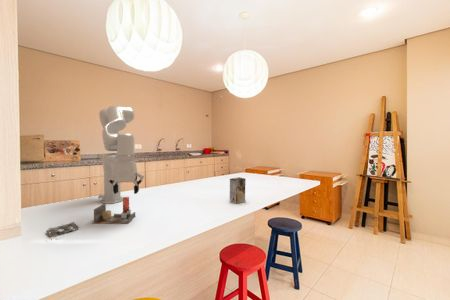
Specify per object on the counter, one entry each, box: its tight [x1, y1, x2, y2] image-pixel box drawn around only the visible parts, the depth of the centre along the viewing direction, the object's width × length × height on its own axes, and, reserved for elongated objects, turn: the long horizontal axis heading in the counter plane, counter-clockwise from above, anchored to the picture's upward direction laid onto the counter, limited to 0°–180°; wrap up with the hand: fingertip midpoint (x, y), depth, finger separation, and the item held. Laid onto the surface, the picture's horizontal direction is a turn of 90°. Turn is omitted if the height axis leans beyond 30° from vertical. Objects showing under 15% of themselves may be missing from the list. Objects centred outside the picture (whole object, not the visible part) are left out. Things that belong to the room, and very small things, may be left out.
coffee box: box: [229, 177, 246, 205], centre depth 144 cm, size 9×6×16 cm
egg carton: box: [45, 221, 80, 238], centre depth 92 cm, size 11×8×4 cm
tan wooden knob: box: [102, 209, 112, 221], centre depth 106 cm, size 4×4×4 cm
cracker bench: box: [91, 203, 137, 225], centre depth 106 cm, size 17×10×8 cm, turn 92°
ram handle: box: [120, 196, 132, 219], centre depth 106 cm, size 3×5×11 cm, turn 2°
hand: (126, 193), depth 105 cm, fingers open, 9 cm apart
